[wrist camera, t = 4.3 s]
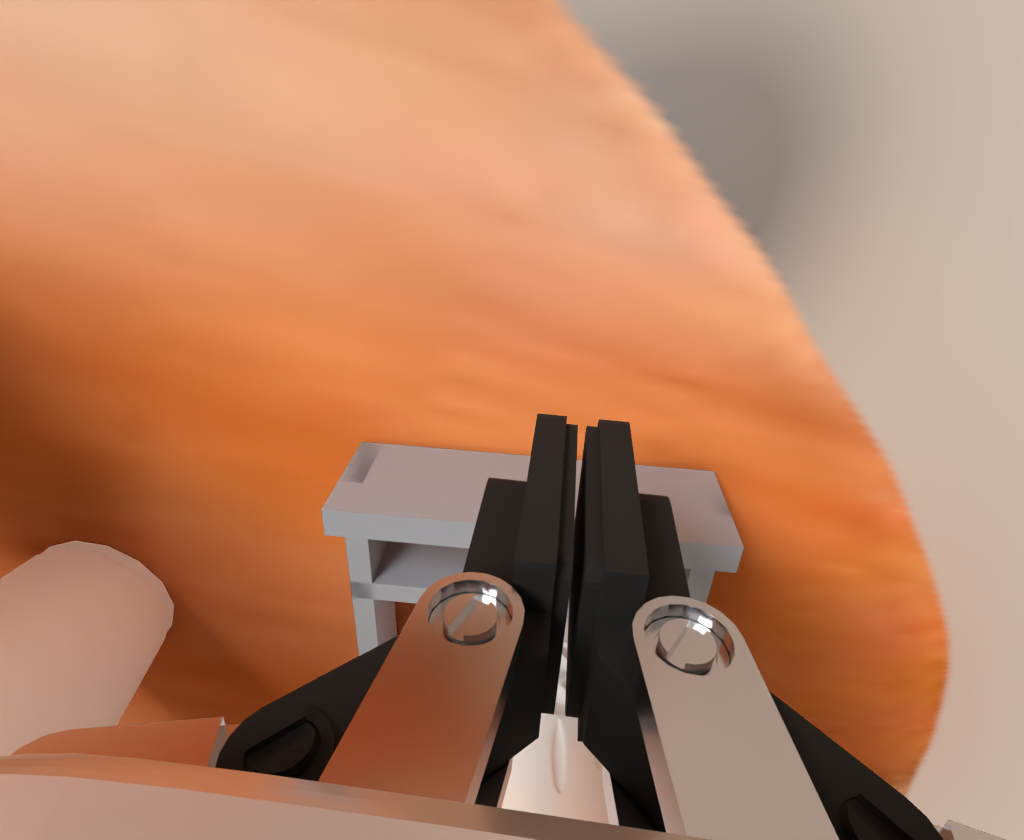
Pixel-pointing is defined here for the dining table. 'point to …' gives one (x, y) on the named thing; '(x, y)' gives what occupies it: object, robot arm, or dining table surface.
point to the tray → (452, 518)
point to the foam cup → (75, 639)
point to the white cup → (557, 767)
